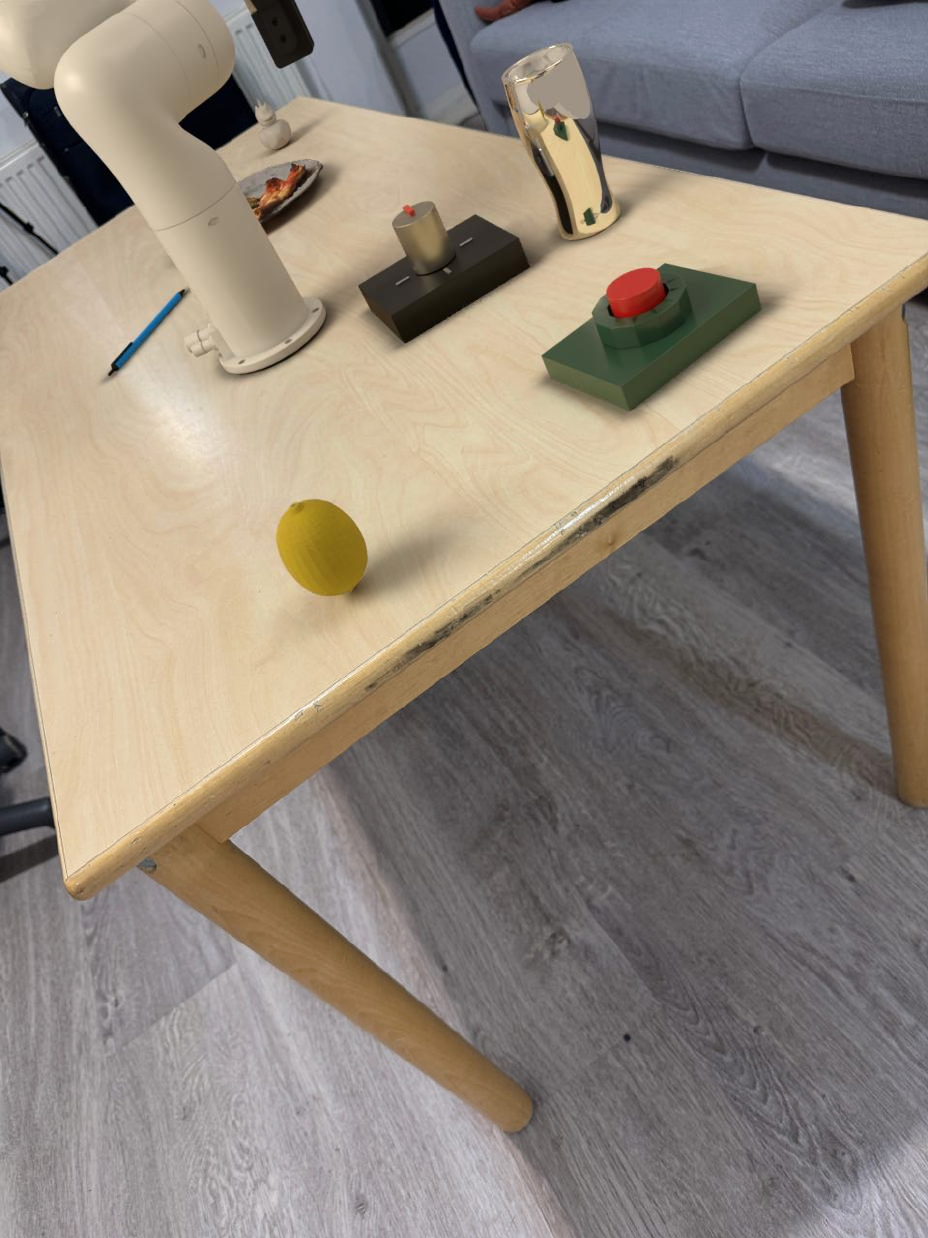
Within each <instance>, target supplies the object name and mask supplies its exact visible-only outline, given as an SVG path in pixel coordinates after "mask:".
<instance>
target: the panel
mask: <svg viewBox="0 0 928 1238" xmlns="http://www.w3.org/2000/svg"><path fill="white" fill-rule="evenodd" d="M446 232H447V234H448V236H449V238H450V241H451V243H452V245H453V248H454V250H455V256H454V258H453V259H452V260H451V261H450V262H449V263H448V264H447V265H445V266H444V267H442V268H440V269H438V270H436V271H434V272H432V273H428V274H424V275H418V274H416V273H415V272H414V271H413V269H412V266H411V264H410V262H409V260H408V258H407V256H406V255H405V256H404V257H402V258H400V259H399V260H397V261H396V262H394V263H392V264H391V265H389V266H387V267H386V268H383V270H381V271H379V272H378V273H376V274H374V275H372V276H371V277H369V278H368V279H366V280H364V281H362V282H361V283H359V284H357V287H358V289H359V291H360V293H361V295H362V296H363V298H364V300H365V302H366V305H367V306H368V308H369V310H370V311H371V312H372V314H374V315H375V316H376V317H377V318H378V319H379V320H380V321H381V322H382V323H383V324H384V325H385V326H386V327H387V328H388V329H389V330H390V331H391V332H392V333H393V334H394V335H395V336H396V337H397V338H399V340H401V342H402V343H403V344H406V343H408V342H410V341H411V340H413V339H414V338H416V337H418V336H419V335H420V334H422V333H424V332H426V331H427V330H429V329H430V328H433V327H434V326H436V325H437V324H439V323H440V322H442V321H443V320H445V319H447V318H449V317H450V316H452V315H454V314H455V313H457V312H458V311H460V310H461V309H463V308H465V307H467V306H468V305H470V304H471V303H473V302H475V301H476V300H478V299H479V298H481V297H483V296H485V295H486V294H488V293H489V292H491V291H492V290H494V289H496V288H497V287H500V286H501V285H503V284H504V283H506V282H508V281H509V280H511V279H512V278H514V277H516V276H517V275H518V274H521V273H522V272H524V271H525V270H527V269H529V268H530V267H531V265H530V263H529V260H528V257H527V255H526V252H525V249H524V247H523V244H522V242H521V239H520V237H519V236H516V235H515V234H513V233H511V232H509V231H507V230H505V229H503V228H502V227H500V226H498V225H496V224H495V223H493V222H491V221H489V220H487V219H486V218H483V217H481V216H480V215H478V214H476V213H474V214H473V215H470V217H467V218H466V219H464V220H462V221H461V222H460V223H457V224H456V225H455V226H453V227H451V228H449V229H448V230H446Z"/></svg>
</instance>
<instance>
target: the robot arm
mask: <svg viewBox="0 0 928 1238" xmlns="http://www.w3.org/2000/svg"><path fill="white" fill-rule="evenodd" d="M243 2H244V3H245V5H246V7H247V10H248V11H249V13H250V17H251V19H252V21H253V23H254V25H255V27H256V29H257V31H258V33H259V35H260V37H261V39H262V41H263V43H264V46H265V47H266V49H267V51H268V53H269V55H270V57H271V59H272V61H273V64H274V66H275V67H276V68H277V69H280V70H281V69H285V68H287V67H288V66H290V65H292V64H294V63H296V62H298V61H300V60H301V59H305V58H306V57H308V56H310V55H312V53H313V52H314V48H315V41H314V38H313V36H312V34H311V32H310V30H309V28H308V26H307V24H306V23H307V22H306V21H305V19H304V17H303V15H302V13H301V11H300V8H299V7H298V4H297V2H296V0H243ZM235 63H236V47H235V43H234V39H233V35H232V33H231V31H230V28H229V26H228V24H227V23H226V21H225V20H224V18H223V17H222V15H221V14H220V12H219V11H218V10H217V9H216V8H215V6H214V5H213V4H212V3H211V2H210V1H209V0H0V72H1V73H3V74H5V75H7V76H8V77H10V78H12V79H14V80H15V81H17V82H19V83H21V84H24V85H25V86H27V87H30V88H34V89H37V90H50V89H52V88H53V89H54V94H55V98H56V101H57V104H58V106H59V108H60V110H61V112H62V114H63V115H64V117H65V118H66V120H67V121H68V123H69V125H70V126H71V128H73V129H74V131H75V132H76V133H77V134H78V136H80V137H81V139H82V140H83V141H84V142H85V143H86V144H87V145H88V146H89V147H90V149H91V150H92V151H93V152H94V153H95V154H96V155H97V156H98V157H99V159H100V160H101V161H102V162H103V163H104V164H105V166H106V167H107V168H108V169H109V171H110V172H111V173H112V174H113V176H114V177H115V178H116V180H117V181H118V182H119V183H120V185H121V187H122V188H123V189H124V190H125V192H126V193H127V195H128V196H129V197H130V199H131V200H132V202H133V204H134V205H135V207H136V208H137V210H138V212H140V214H141V215H142V217H143V219H144V220H145V222H146V224H147V225H148V226H149V228H150V229H151V230H152V232H153V233H154V235H155V237H156V238H157V240H158V241H159V243H160V244H161V246H162V248H163V250H165V252H166V254H167V255H168V257H169V258H170V260H171V261H172V263H173V265H174V266H175V267H176V270H177V271H178V273H179V274H180V275H181V277H182V278H183V280H184V282H185V283H186V285H187V287H188V288H189V290H190V291H191V292H192V294H193V296H194V298H196V299H195V300H197V302H198V303H199V305H200V306H201V308H202V310H203V311H204V313H205V314H206V316H207V317H208V319H209V322H207V327H204V328H202V329H197V330H195V331H193V332H190V333H188V334H186V335H184V336H183V343H184V345H185V348H186V349H187V350H188V352H189V353H191V354H193V356H194V357H195V358H200V357H202V356H204V355H206V354H208V353H209V352H211V351H216V352H219V353H218V354H219V355H218V360H219V363H220V364H221V366H222V367H223V369H224V370H225V371H226V372H227V373H230V374H235V375H242V374H249V373H254V372H256V371H260V370H263V369H266V368H267V367H270V366H272V365H274V364H277V363H279V362H280V361H282V360H284V359H285V358H287V357H289V356H290V355H292V354H294V353H295V352H297V351H298V350H300V348H302V347H303V346H304V345H306V344H307V343H308V342H309V341H310V340H311V339H312V338H313V337H314V336H315V335H316V334H317V333H318V331H319V330H320V329H321V328H322V326H323V324H324V322H325V320H326V316H327V311H326V308H325V306H324V304H323V302H322V301H321V299H319V298H316V297H313V296H302V295H301V293H300V291H299V290H298V288H297V286H296V284H295V282H294V280H293V279H292V277H291V276H290V275H291V274H290V273H289V272H288V269H287V268H286V267H285V265H284V262H283V261H282V260H281V259H282V258H280V256H279V254H278V252H277V251H276V248H275V247H274V245H273V244H272V241H271V240H270V238H269V236H268V234H267V233H266V230H265V229H264V227H263V226H262V224H260V222H259V221H258V219H257V217H256V215H255V213H254V212H253V210H252V208H251V206H250V205H249V203H248V201H247V199H246V198H245V196H244V194H243V192H242V190H241V189H240V187H239V185H238V183H237V182H238V181H237V180H236V178H235V177H234V174H233V173H232V172H231V169H230V168H229V166H228V165H227V163H226V161H225V160H224V159H223V158H222V157H221V156H220V154H219V153H218V152H217V151H216V150H214V149H213V148H212V147H211V146H210V145H209V144H207V143H205V142H204V141H203V140H201V139H199V138H197V137H196V136H194V135H193V134H191V133H190V132H189V131H187V130H185V129H184V128H182V126H181V125H180V124H179V123H180V122H182V121H183V119H185V118H186V116H187V115H188V114H190V113H191V112H192V111H194V110H195V109H196V108H197V107H199V106H200V105H202V104H203V103H204V102H206V100H208V99H209V98H210V97H212V96H213V95H214V94H216V93H217V92H218V91H219V90H220V89H221V88H222V87H223V86H224V85H225V84H226V83H227V81H229V79H230V77H231V75H232V73H233V71H234V67H235Z"/></svg>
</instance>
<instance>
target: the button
mask: <svg viewBox="0 0 928 1238" xmlns="http://www.w3.org/2000/svg"><path fill="white" fill-rule="evenodd" d="M656 269H657V268H654V267H640V268H635V269H633V270H630V271H627V272H625V273H623V274H621V275H619V276H617V277H616V278H615V279H614V280H612V281H611V282H610V283H609V284H608V285H607V288H606V291H605V294H606V295H607V298H608V301H609V304H610V307H611V310H612V312H613V315H614V316H615V317H616V318H627V317H635V316H638V315H640V314H643V313H645V312H648V311H650V310H652V309H654V308H655V307H656V306H658V305H659V304H660V303H662V302H663V301H664V300H665V297H666V293H665V290H664V287H663V283H662V280H661V277H660V273H659V271H657V270H656Z"/></svg>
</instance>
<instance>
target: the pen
mask: <svg viewBox="0 0 928 1238" xmlns="http://www.w3.org/2000/svg"><path fill="white" fill-rule="evenodd" d="M185 292H186V288H183V289H181V290H180V291H178V292H176V293H175V294H174V295H173V296H172V297H171V298H170V300H169V301H168V302H167V303H166V304H165V305H164V306H163V307H162V309H161V310H160V311H159V312H158V313H157V314H156V316H154V317H153V319H151V321H150V322H149V323H148V324H147V326H146V327H145V328H144V329H143V330H142V331H141V332H140V333H139V335H138V336H137V337H136V338H135V339H134V340H133V341H130V342H128V344H127V345H126V347H124V349H123V350H122V351H121V352H120V353H119V354H118V355H117V356H116V358H115V359H114V360H113V361H112V362H111V363H110V366H111V370H110V371H109V372H108V373H107V376H108V377H111V376H113V374H114V373H115V372H118V371H120V369H121V368H122V367H123V365H124V364H125V363H126V362H127V361H128V360H129V359H130V358H131V357H132V355H133V354H134V353H135V352H136V351H137V350H138V349H139V348H140V346H141V345H143V343H144V341H145V340H147V338H148V337H149V336H150V335H151V334H152V333H153V331H154V330H155V329H156V328H157V327H158V326H159V325H160V324H161V322H162V321H163V320H164V319H165V318H166V317H167V316H168V314H169V313H170V312H171V311H172V310H173V309H174V308H175V306H176V305H177V304H178V303H179V302H181V300H182V298H183V296H184V294H185Z"/></svg>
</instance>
